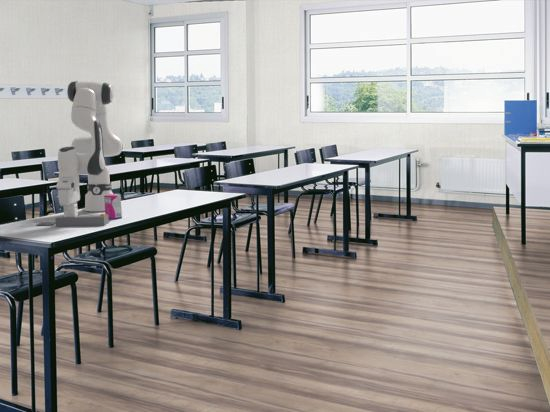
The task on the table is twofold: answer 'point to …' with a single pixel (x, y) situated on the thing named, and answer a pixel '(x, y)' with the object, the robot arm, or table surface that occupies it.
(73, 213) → the charger
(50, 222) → the mat
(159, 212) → the table surface
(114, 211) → the supplement box
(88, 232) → the table surface
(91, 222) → the grey flat block
